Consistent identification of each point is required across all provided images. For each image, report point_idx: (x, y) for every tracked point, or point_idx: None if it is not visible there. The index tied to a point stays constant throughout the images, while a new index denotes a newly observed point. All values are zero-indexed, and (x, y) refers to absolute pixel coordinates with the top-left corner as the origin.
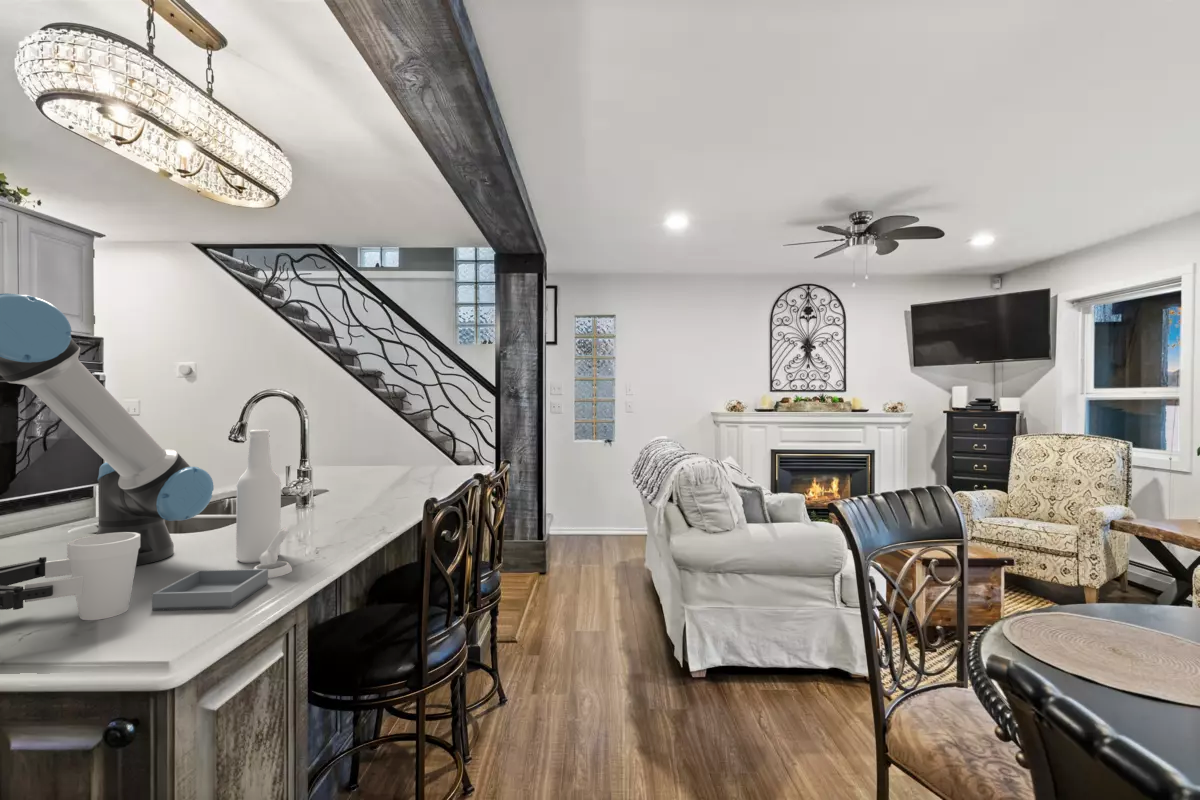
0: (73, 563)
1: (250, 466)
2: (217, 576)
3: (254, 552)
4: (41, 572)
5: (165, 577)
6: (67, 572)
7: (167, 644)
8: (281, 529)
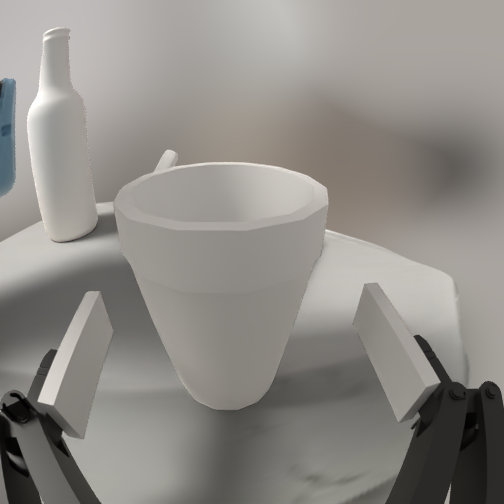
0: (287, 290)
1: (56, 82)
2: None
3: (90, 215)
4: (57, 438)
5: (51, 302)
6: (94, 380)
7: (415, 279)
8: (173, 152)
